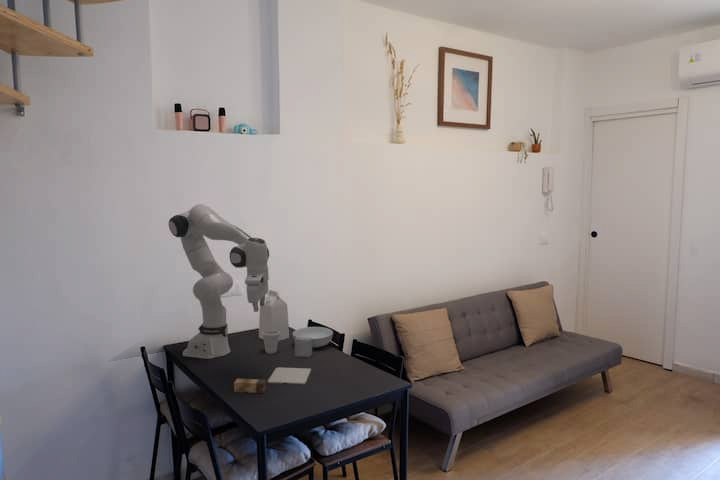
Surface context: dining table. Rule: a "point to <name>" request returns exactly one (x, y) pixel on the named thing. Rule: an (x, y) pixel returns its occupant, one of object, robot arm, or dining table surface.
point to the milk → (274, 316)
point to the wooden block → (250, 385)
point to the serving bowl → (315, 335)
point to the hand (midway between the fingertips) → (259, 308)
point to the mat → (289, 375)
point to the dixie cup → (271, 340)
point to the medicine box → (303, 347)
